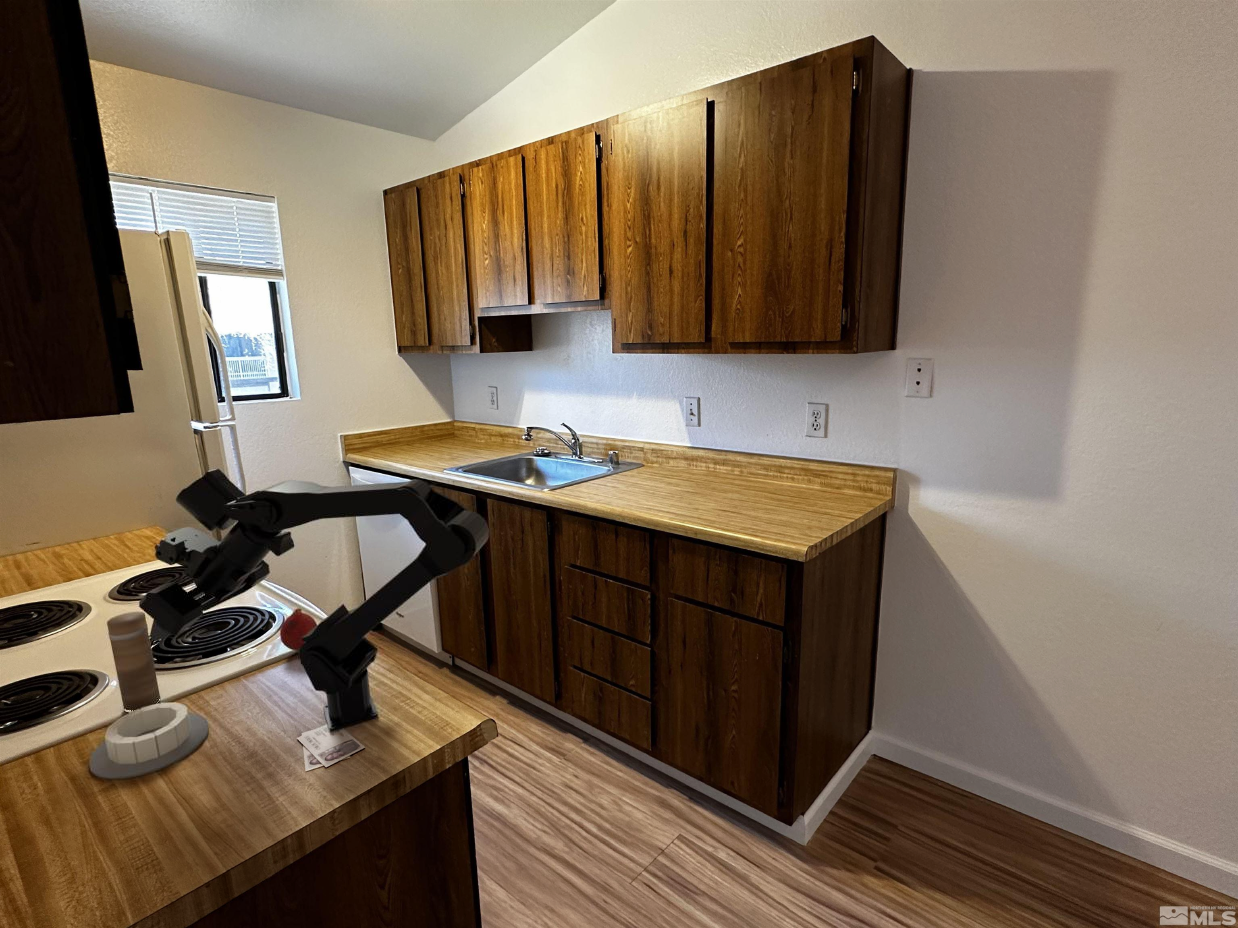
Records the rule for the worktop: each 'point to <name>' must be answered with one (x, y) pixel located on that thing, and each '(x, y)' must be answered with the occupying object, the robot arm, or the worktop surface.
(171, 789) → the worktop surface
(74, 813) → the worktop surface
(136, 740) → the holder cup
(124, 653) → the pepper mill
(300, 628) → the onion
